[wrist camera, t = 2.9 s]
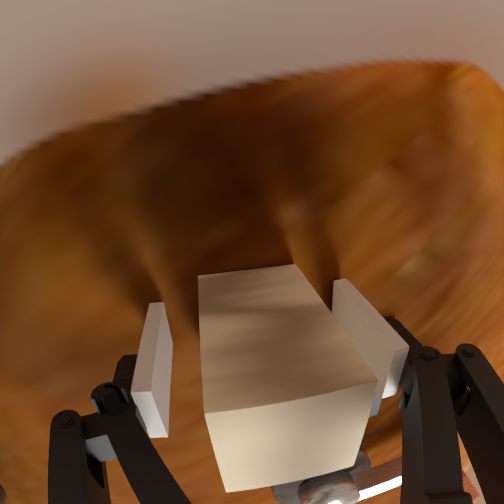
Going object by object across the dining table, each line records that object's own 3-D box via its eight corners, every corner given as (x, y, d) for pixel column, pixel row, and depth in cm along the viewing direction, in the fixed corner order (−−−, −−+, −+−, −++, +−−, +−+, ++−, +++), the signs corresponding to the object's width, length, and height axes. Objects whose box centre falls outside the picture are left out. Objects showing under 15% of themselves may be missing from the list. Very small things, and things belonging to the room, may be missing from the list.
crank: (295, 502, 23) (318, 573, 15) (298, 480, 21) (325, 563, 13) (432, 455, 25) (467, 509, 17) (448, 427, 23) (490, 485, 15)
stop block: (210, 354, 18) (226, 492, 10) (197, 275, 16) (204, 413, 8) (295, 342, 19) (353, 465, 10) (295, 264, 17) (378, 379, 8)
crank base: (269, 496, 25) (273, 511, 24) (267, 452, 22) (272, 471, 20) (354, 475, 27) (360, 489, 25) (371, 426, 23) (380, 442, 21)
